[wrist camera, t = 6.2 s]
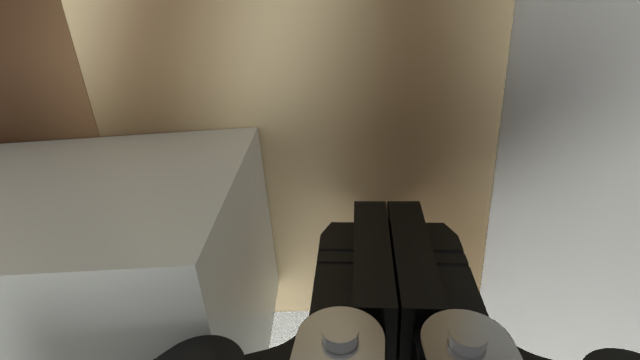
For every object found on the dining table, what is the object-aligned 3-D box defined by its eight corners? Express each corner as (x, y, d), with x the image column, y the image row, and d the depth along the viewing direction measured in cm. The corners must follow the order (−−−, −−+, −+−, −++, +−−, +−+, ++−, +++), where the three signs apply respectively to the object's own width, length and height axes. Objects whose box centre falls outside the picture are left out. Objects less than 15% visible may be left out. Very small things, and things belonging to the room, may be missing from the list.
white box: (257, 127, 11) (186, 284, 6) (279, 281, 13) (243, 513, 8) (-39, 146, 12) (-400, 314, 6) (27, 294, 14) (-191, 526, 8)
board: (538, -288, 8) (553, -307, 8) (472, 292, 14) (478, 305, 14) (-294, -215, 9) (-335, -229, 9) (-29, 308, 15) (-43, 322, 14)
